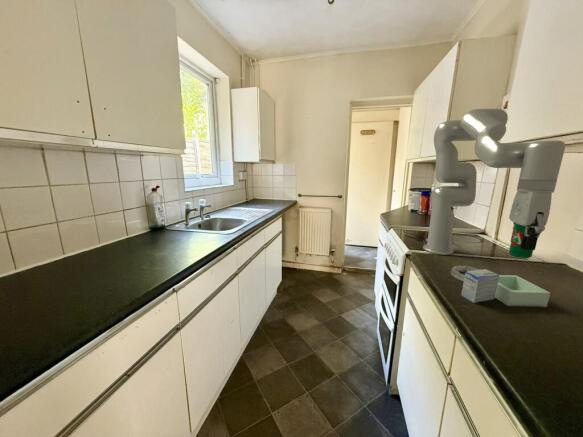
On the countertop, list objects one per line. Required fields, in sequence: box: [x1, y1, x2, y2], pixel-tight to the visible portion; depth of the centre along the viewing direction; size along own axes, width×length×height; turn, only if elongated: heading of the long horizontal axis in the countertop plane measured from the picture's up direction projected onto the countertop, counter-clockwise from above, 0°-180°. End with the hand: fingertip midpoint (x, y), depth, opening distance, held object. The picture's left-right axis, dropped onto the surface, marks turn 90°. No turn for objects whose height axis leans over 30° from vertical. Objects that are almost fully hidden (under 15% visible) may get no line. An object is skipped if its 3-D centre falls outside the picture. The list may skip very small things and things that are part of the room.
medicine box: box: [461, 268, 500, 303], centre depth 72 cm, size 8×4×9 cm, turn 102°
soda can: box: [508, 223, 536, 260], centre depth 69 cm, size 5×5×12 cm
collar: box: [450, 265, 481, 282], centre depth 86 cm, size 11×11×2 cm
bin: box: [494, 274, 551, 308], centre depth 73 cm, size 11×11×5 cm
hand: (522, 245), depth 70 cm, fingers closed on soda can, 5 cm apart
